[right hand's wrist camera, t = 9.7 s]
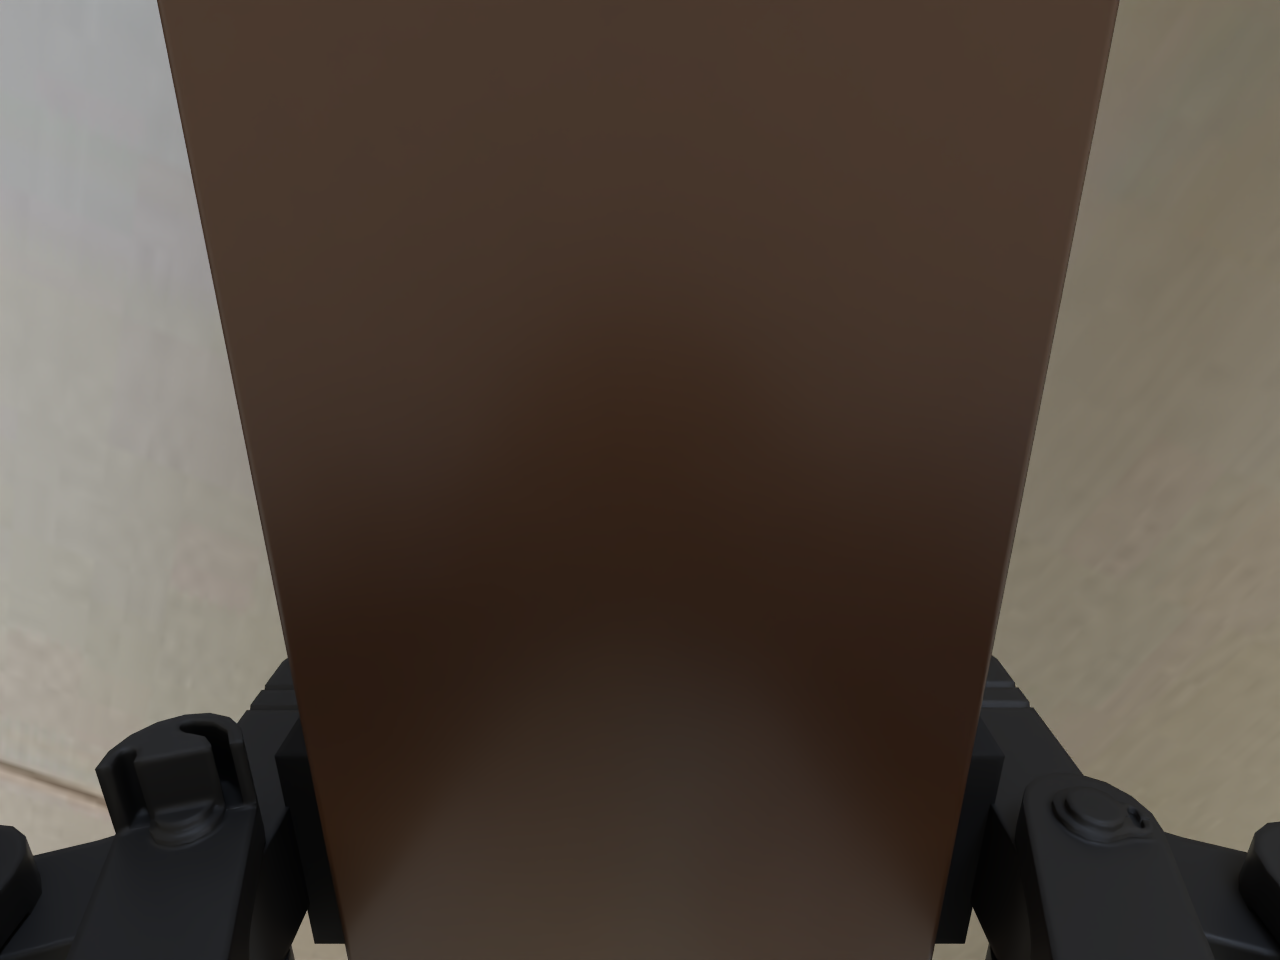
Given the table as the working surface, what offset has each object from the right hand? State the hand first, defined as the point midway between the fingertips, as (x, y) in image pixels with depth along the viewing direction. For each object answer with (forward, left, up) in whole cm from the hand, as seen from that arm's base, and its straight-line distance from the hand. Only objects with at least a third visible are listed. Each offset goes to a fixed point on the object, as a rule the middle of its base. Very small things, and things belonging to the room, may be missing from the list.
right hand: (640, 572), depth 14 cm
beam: (+10, +8, -1) cm, 13 cm away
